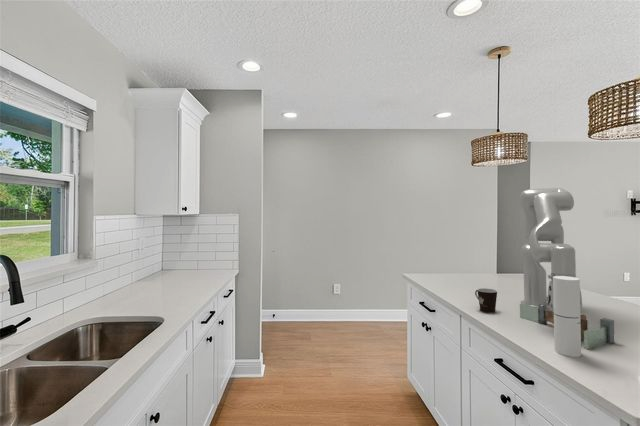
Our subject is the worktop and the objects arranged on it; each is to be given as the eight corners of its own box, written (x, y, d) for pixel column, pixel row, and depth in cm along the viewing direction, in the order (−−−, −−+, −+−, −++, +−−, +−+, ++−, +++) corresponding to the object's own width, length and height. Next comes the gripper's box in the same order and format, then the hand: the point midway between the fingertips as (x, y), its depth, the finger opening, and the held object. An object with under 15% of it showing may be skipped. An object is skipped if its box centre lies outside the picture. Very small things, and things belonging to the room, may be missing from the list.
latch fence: (604, 339, 119) (604, 318, 119) (614, 342, 116) (613, 320, 116) (581, 347, 112) (581, 324, 112) (591, 350, 110) (590, 326, 110)
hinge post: (522, 316, 146) (522, 299, 146) (548, 324, 136) (548, 305, 136) (518, 317, 145) (518, 299, 145) (544, 325, 135) (544, 305, 135)
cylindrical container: (549, 348, 112) (547, 276, 112) (568, 347, 113) (566, 275, 113) (566, 357, 105) (565, 280, 105) (587, 356, 106) (585, 279, 106)
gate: (545, 324, 135) (544, 302, 135) (549, 323, 135) (549, 302, 135) (583, 339, 118) (582, 315, 118) (588, 339, 118) (587, 315, 118)
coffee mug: (500, 314, 151) (499, 292, 151) (480, 313, 152) (480, 292, 152) (492, 307, 162) (491, 287, 162) (473, 306, 164) (473, 286, 164)
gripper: (548, 280, 120) (549, 329, 120) (591, 280, 119) (592, 330, 119) (537, 276, 128) (538, 322, 128) (577, 276, 126) (578, 323, 126)
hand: (564, 326), depth 123 cm, fingers closed
